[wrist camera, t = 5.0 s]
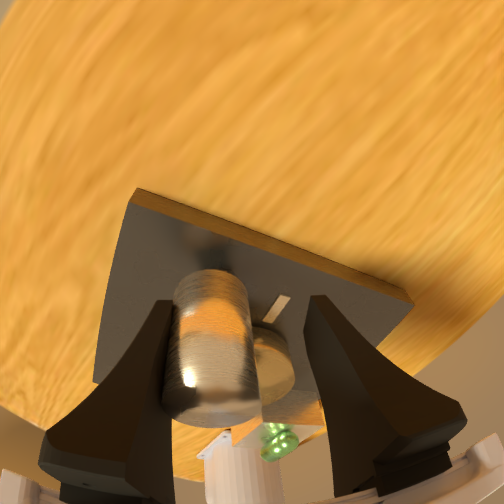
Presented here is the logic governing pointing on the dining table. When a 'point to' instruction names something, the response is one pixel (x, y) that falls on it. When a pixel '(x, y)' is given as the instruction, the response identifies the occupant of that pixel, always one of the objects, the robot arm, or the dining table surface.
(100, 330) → the instrument base
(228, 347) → the gold rounded piece
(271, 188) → the dining table surface
